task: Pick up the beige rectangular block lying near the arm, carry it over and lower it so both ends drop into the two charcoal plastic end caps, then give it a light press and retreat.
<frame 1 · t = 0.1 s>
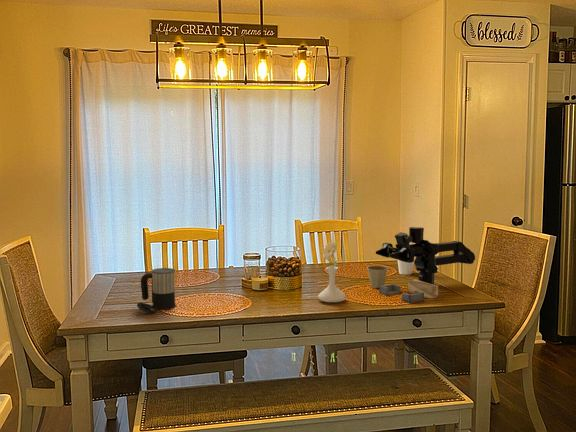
hand: (382, 254, 243), 17 cm above the table, tool horizontal, fingers open, 9 cm apart
flower pot: (377, 287, 254), on the table
milk frother: (157, 309, 220), on the table
beige rectangular block: (422, 294, 240), on the table
end caps: (401, 296, 235), on the table
flower in vase: (332, 302, 229), on the table
foam cup: (405, 273, 283), on the table
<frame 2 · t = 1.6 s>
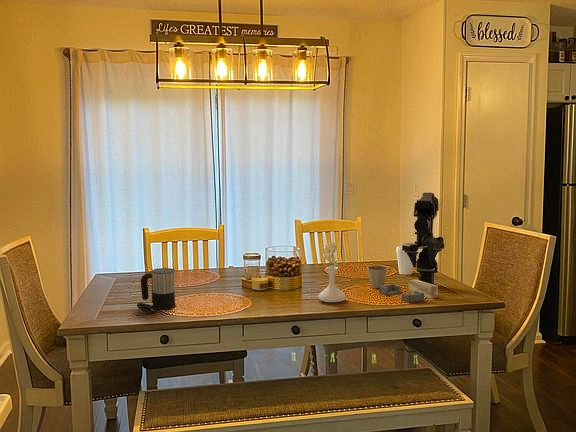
hand: (423, 266, 239), 12 cm above the table, tool pointing down, fingers open, 9 cm apart
nothing on the table moved.
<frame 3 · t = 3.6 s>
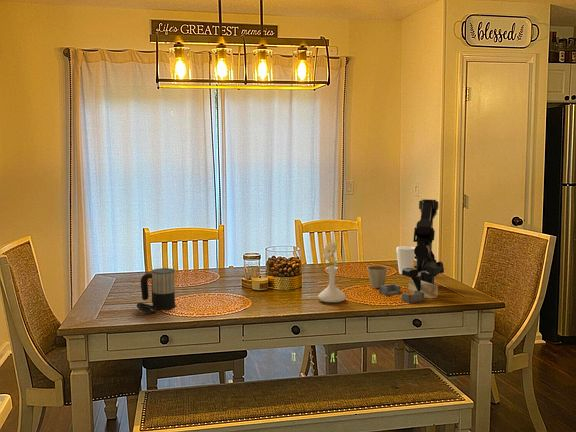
hand: (422, 290, 240), 2 cm above the table, tool pointing down, fingers closed on beige rectangular block, 4 cm apart
beige rectangular block: (422, 294, 240), on the table, touching gripper
everything else where it was.
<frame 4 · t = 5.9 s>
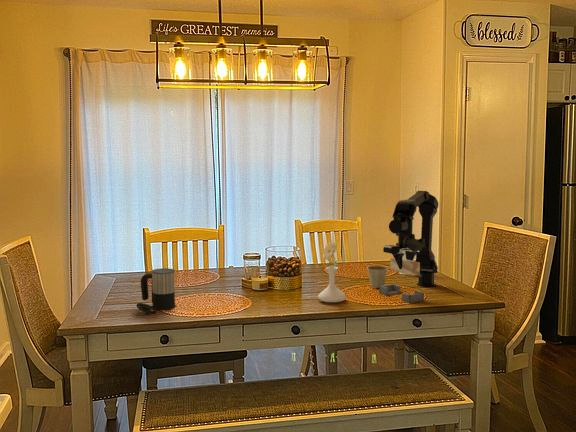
hand: (404, 268, 234), 12 cm above the table, tool pointing down, fingers closed on beige rectangular block, 4 cm apart
beige rectangular block: (404, 272, 234), point 10 cm above the table, touching gripper
everything else where it was.
when the fingers open (4 cm above the table, at t = 8.2 s): beige rectangular block drops 1 cm, resting on end caps.
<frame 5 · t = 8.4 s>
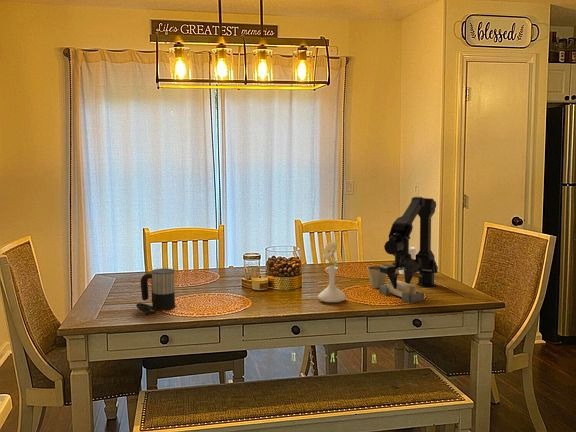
hand: (401, 287, 235), 4 cm above the table, tool pointing down, fingers open, 6 cm apart
beige rectangular block: (401, 295, 235), point 1 cm above the table, touching end caps
everything else where it was.
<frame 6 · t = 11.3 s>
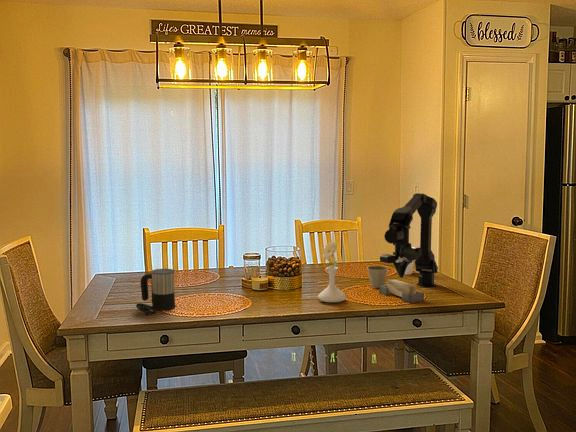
hand: (401, 277, 235), 8 cm above the table, tool pointing down, fingers closed
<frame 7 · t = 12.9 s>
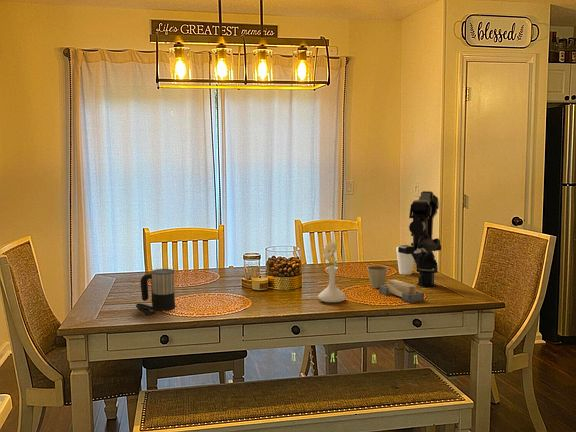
hand: (419, 268, 235), 12 cm above the table, tool pointing down, fingers closed
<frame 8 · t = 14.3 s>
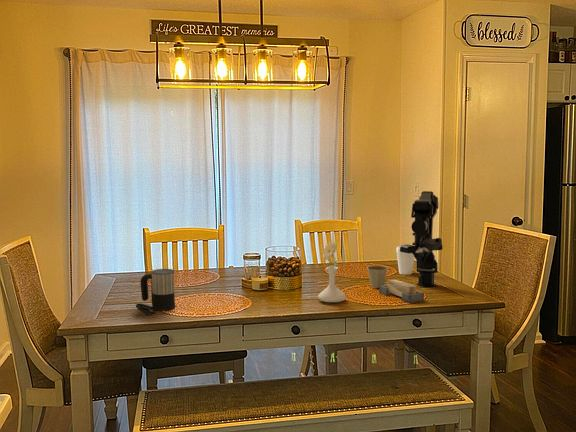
hand: (421, 267, 235), 12 cm above the table, tool pointing down, fingers closed
at the end: beige rectangular block 0.1 cm off-centre on the end caps, point 0.8 cm above the end caps's base; beige rectangular block tilted 0°; the gripper is holding nothing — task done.
